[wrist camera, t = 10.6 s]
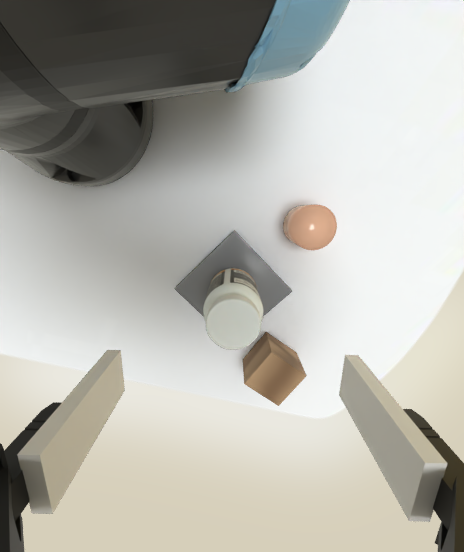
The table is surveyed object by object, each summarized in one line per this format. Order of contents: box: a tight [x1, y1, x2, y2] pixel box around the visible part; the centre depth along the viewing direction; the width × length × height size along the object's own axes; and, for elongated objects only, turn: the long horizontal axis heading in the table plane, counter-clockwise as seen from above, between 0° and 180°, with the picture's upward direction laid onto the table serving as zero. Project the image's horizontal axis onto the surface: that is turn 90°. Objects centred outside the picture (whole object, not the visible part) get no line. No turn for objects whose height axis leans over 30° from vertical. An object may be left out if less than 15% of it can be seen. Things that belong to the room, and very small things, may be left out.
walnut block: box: [243, 332, 306, 406], centre depth 32 cm, size 5×5×5 cm
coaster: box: [175, 230, 292, 316], centre depth 32 cm, size 10×10×1 cm
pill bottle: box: [203, 268, 263, 350], centre depth 27 cm, size 6×6×10 cm
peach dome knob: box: [283, 205, 337, 250], centre depth 28 cm, size 4×4×4 cm
